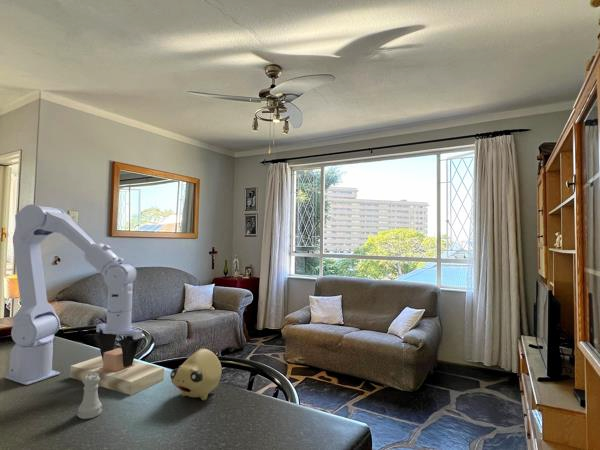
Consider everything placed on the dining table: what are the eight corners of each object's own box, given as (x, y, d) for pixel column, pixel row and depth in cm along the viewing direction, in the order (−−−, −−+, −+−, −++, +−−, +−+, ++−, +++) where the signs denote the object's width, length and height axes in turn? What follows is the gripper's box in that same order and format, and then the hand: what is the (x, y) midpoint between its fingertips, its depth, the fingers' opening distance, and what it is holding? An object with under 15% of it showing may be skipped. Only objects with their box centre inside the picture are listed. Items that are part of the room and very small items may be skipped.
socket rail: (70, 377, 91) (70, 365, 92) (105, 365, 101) (105, 354, 101) (130, 395, 82) (131, 382, 82) (163, 379, 91) (164, 367, 92)
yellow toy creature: (160, 405, 78) (162, 356, 78) (192, 384, 89) (194, 341, 90) (199, 413, 75) (201, 362, 75) (227, 390, 86) (229, 345, 87)
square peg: (102, 380, 90) (103, 352, 90) (117, 374, 94) (118, 348, 94) (114, 383, 88) (115, 355, 89) (129, 377, 92) (130, 350, 93)
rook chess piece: (90, 421, 71) (92, 380, 71) (71, 418, 72) (73, 378, 72) (107, 410, 75) (108, 372, 75) (89, 408, 76) (90, 370, 76)
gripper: (86, 310, 91) (84, 363, 91) (126, 316, 85) (123, 373, 85) (110, 305, 98) (108, 355, 97) (149, 311, 92) (147, 364, 91)
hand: (117, 363), depth 92 cm, fingers open, 7 cm apart
